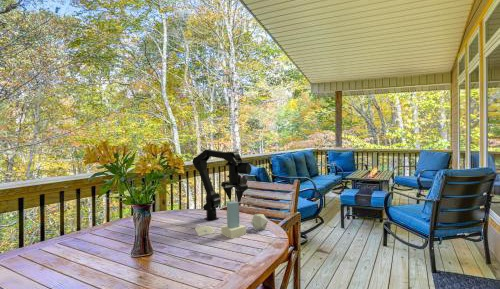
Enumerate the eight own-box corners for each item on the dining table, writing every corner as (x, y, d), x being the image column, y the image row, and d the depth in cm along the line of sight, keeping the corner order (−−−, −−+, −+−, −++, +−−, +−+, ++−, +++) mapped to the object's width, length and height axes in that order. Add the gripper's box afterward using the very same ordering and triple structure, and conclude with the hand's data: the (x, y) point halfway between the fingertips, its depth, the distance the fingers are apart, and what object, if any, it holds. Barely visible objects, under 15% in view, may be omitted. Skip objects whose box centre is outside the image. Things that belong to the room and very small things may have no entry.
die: (264, 233, 151) (272, 216, 154) (249, 226, 151) (257, 209, 154) (261, 234, 158) (268, 218, 162) (247, 227, 158) (254, 211, 162)
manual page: (194, 228, 160) (194, 227, 160) (210, 226, 163) (210, 225, 163) (198, 235, 149) (198, 234, 149) (215, 233, 152) (215, 232, 152)
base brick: (221, 234, 150) (221, 226, 150) (235, 230, 156) (235, 222, 156) (231, 238, 143) (231, 230, 143) (245, 234, 149) (245, 226, 149)
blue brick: (227, 226, 150) (226, 202, 149) (236, 224, 152) (235, 200, 152) (230, 228, 146) (229, 203, 146) (239, 226, 149) (238, 202, 148)
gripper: (255, 173, 165) (255, 200, 166) (235, 170, 180) (236, 195, 180) (239, 175, 158) (240, 204, 159) (220, 172, 173) (221, 198, 173)
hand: (234, 200), depth 168 cm, fingers open, 9 cm apart
